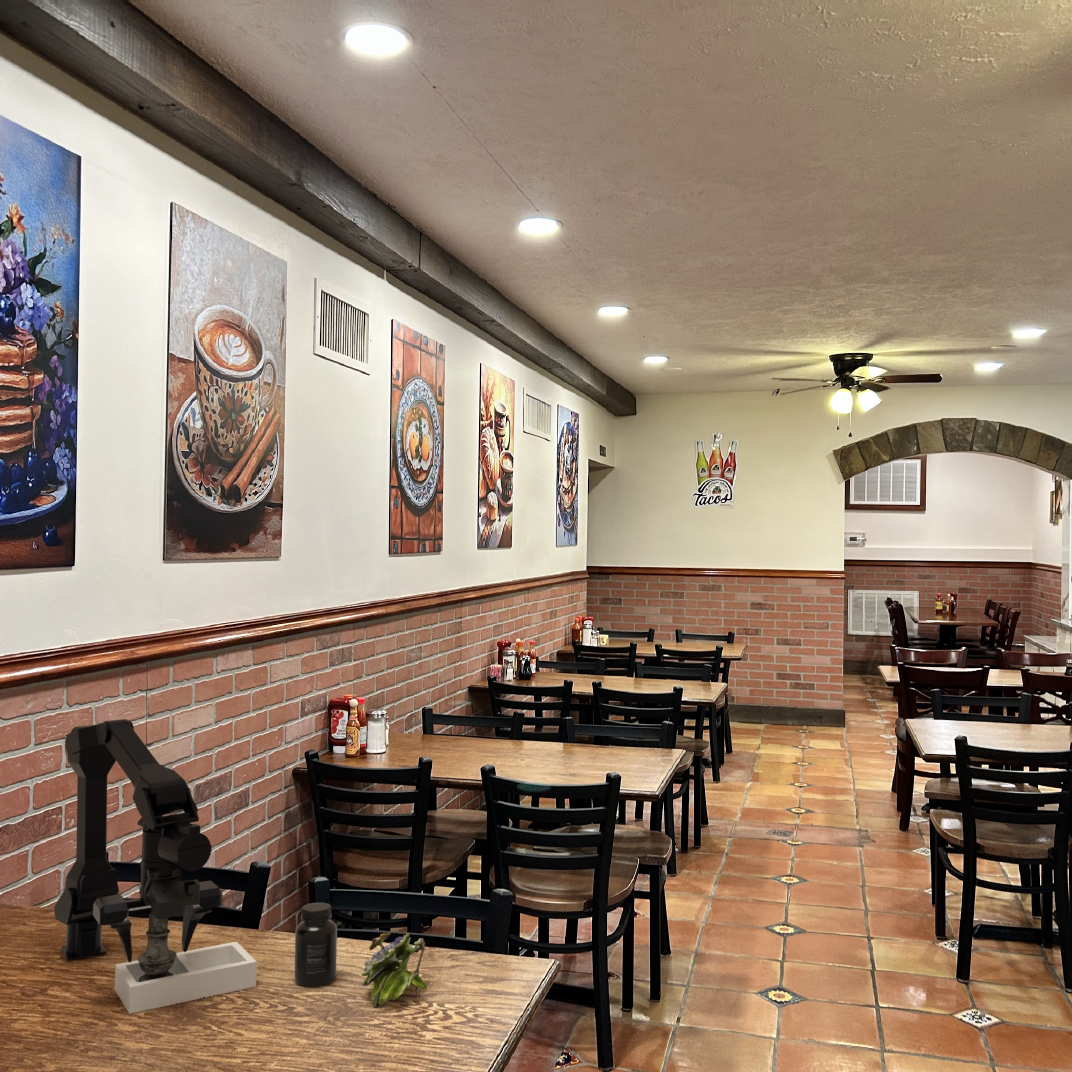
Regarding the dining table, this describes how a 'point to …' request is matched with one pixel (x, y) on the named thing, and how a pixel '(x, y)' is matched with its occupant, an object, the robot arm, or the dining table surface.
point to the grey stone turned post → (156, 951)
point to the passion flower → (392, 968)
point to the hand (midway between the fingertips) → (157, 956)
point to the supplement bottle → (315, 946)
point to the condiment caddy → (187, 977)
